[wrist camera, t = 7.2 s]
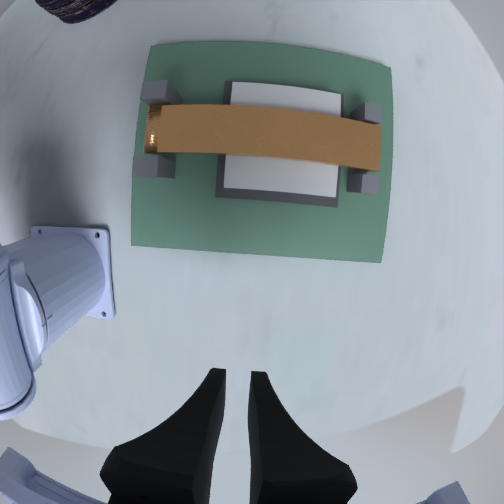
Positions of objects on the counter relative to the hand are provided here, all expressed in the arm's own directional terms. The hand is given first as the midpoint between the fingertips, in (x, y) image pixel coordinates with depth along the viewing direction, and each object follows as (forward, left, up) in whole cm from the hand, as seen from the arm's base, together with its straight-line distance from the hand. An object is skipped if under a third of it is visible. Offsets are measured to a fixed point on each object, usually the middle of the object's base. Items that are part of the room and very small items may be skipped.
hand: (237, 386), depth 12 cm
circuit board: (+1, +12, -10) cm, 16 cm away
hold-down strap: (0, +12, -8) cm, 14 cm away
